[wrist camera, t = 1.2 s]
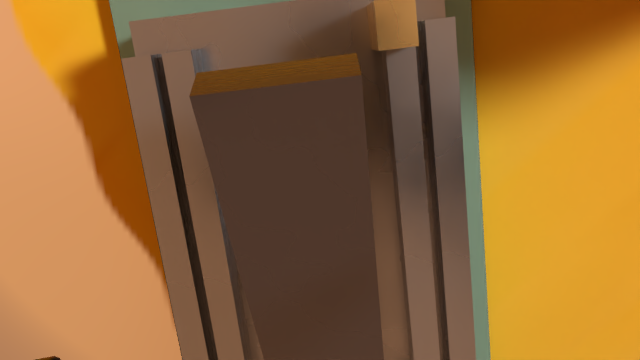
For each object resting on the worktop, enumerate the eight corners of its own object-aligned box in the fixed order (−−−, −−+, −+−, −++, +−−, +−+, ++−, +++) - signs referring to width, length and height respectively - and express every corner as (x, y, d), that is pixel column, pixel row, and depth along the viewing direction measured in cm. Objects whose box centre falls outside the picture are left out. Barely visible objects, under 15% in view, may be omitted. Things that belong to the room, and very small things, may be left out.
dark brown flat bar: (399, 429, 19) (403, 457, 18) (283, 440, 19) (282, 469, 19) (376, 50, 11) (382, 72, 10) (176, 75, 11) (168, 99, 10)
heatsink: (455, 406, 23) (494, 517, 17) (233, 429, 23) (206, 544, 18) (424, -11, 19) (463, -29, 13) (158, 23, 19) (95, 19, 14)
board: (489, 414, 23) (493, 424, 23) (204, 443, 24) (201, 453, 23) (462, -78, 19) (466, -81, 18) (109, -31, 19) (102, -33, 19)
